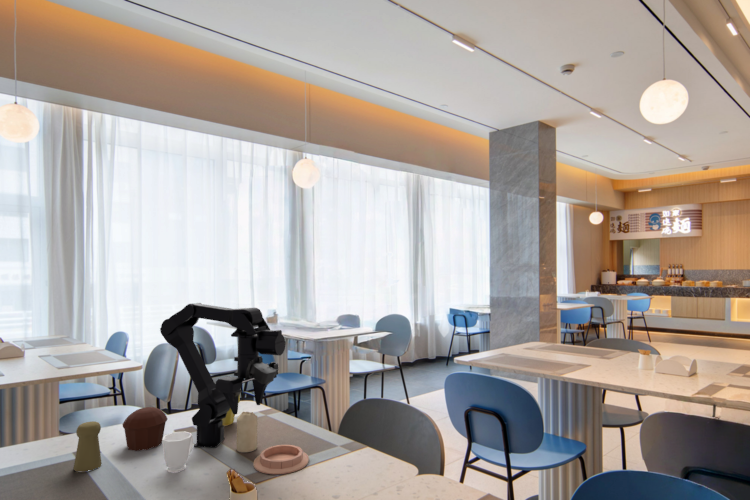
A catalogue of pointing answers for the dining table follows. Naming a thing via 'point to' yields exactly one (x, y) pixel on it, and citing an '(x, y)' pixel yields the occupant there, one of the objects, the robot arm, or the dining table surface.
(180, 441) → the cup
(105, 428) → the dining table surface
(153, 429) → the muffin
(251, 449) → the candle
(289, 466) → the candle dish
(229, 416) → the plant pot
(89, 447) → the cork
